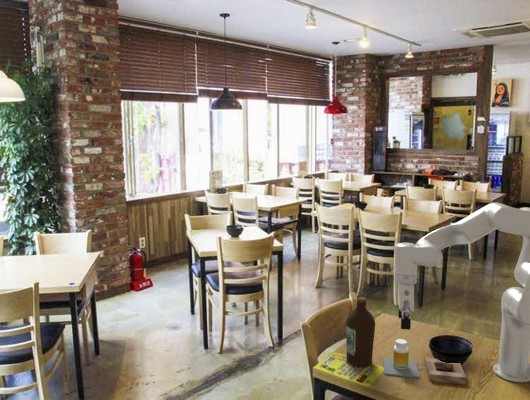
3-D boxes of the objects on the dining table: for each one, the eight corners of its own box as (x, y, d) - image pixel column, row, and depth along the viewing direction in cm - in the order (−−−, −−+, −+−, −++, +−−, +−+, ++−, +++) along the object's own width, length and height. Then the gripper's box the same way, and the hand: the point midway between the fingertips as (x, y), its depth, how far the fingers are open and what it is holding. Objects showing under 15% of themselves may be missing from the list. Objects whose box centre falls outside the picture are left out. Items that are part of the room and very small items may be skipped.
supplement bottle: (408, 370, 169) (409, 345, 167) (393, 369, 170) (394, 343, 168) (407, 363, 174) (408, 338, 172) (392, 362, 175) (393, 337, 174)
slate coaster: (415, 362, 176) (415, 360, 176) (419, 378, 165) (419, 376, 165) (383, 358, 179) (383, 357, 179) (384, 374, 167) (384, 373, 167)
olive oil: (364, 353, 183) (367, 291, 179) (379, 366, 173) (381, 301, 169) (340, 357, 180) (341, 294, 176) (353, 370, 170) (355, 304, 166)
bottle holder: (458, 367, 173) (459, 360, 172) (465, 384, 161) (466, 377, 161) (424, 364, 175) (424, 357, 174) (429, 380, 163) (429, 374, 163)
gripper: (419, 286, 158) (418, 334, 160) (413, 271, 174) (412, 314, 177) (396, 284, 159) (395, 332, 161) (392, 270, 176) (391, 313, 178)
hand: (404, 323), depth 169 cm, fingers open, 9 cm apart
